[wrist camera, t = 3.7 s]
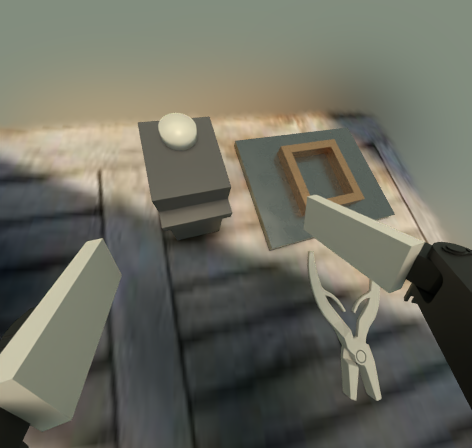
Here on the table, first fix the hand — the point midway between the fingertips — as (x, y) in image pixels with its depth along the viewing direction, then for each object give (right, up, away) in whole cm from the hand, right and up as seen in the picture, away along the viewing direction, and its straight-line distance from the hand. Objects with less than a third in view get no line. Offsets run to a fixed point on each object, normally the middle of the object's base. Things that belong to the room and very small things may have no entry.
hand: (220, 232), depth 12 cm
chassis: (+12, +7, +15) cm, 21 cm away
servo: (-4, +2, +11) cm, 12 cm away
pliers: (+15, -11, +10) cm, 21 cm away
